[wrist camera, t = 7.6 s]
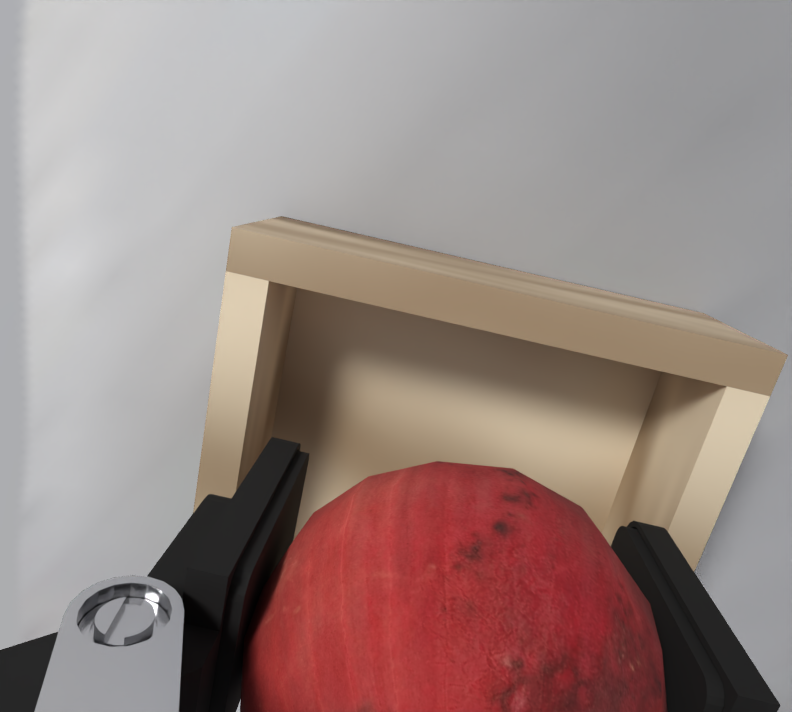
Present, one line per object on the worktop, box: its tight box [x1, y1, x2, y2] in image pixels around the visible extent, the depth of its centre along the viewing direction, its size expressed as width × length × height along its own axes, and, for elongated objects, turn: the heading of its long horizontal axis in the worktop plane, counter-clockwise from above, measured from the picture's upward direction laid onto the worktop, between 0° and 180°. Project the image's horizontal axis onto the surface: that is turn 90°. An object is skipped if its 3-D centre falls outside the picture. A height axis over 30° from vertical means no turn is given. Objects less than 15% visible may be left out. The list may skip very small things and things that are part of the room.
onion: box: [240, 461, 668, 712], centre depth 8 cm, size 6×6×8 cm
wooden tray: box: [193, 216, 788, 571], centre depth 14 cm, size 10×10×4 cm
